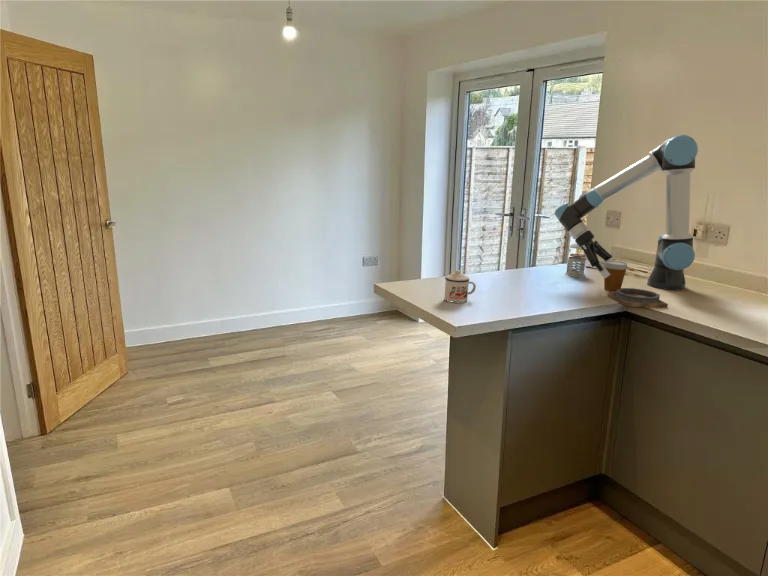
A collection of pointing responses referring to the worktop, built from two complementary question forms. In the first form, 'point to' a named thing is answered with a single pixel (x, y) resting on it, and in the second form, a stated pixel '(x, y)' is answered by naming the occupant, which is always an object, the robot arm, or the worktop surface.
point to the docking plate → (634, 304)
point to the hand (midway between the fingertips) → (612, 274)
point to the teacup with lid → (457, 287)
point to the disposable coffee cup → (614, 275)
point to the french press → (576, 259)
